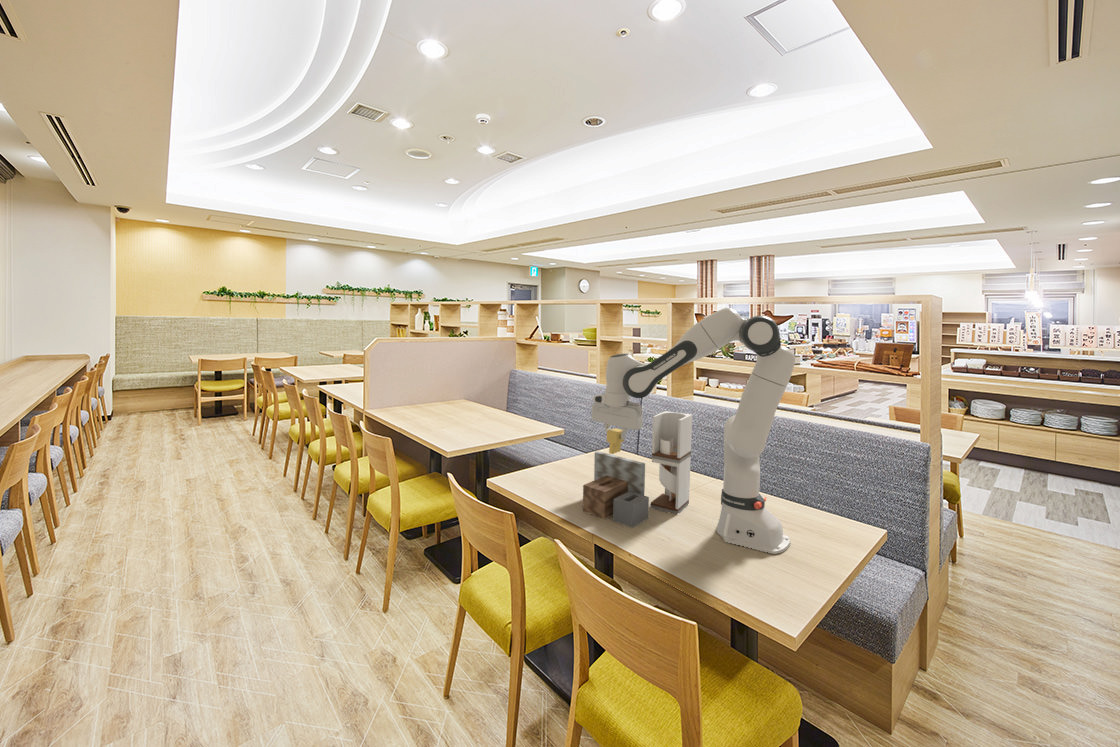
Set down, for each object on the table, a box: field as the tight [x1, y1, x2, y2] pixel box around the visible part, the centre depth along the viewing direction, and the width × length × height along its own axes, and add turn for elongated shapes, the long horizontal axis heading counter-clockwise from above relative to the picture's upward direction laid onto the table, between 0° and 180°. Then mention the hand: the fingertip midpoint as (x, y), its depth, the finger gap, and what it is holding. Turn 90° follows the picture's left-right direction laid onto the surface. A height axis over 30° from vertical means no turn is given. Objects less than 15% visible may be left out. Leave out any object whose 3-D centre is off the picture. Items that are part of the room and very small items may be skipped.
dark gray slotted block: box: [612, 491, 650, 529], centre depth 167 cm, size 8×10×8 cm
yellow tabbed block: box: [606, 427, 625, 455], centre depth 169 cm, size 4×5×8 cm
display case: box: [649, 410, 693, 515], centre depth 177 cm, size 11×11×35 cm
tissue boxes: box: [582, 450, 646, 520], centre depth 176 cm, size 22×16×18 cm
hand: (615, 437), depth 169 cm, fingers closed on yellow tabbed block, 4 cm apart
